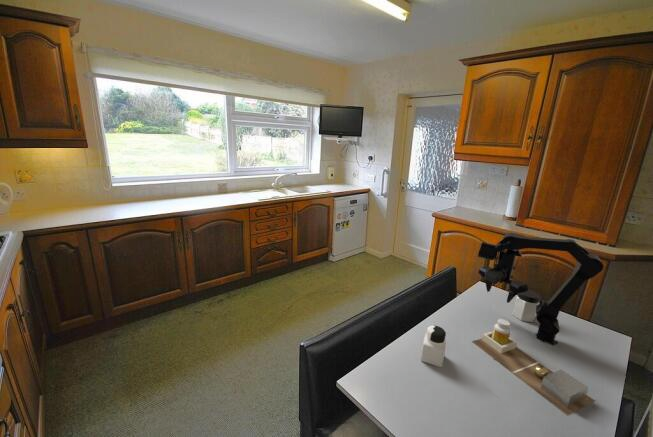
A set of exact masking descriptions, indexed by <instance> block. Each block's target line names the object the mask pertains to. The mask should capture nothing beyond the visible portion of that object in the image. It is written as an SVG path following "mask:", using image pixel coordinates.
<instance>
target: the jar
mask: <svg viewBox="0 0 653 437" xmlns="http://www.w3.org/2000/svg"><path fill="white" fill-rule="evenodd" d="M540 302H541V295H540V294H539V293H538V292H536V291H535V290H534V291H533V290H532V289H528V291H526V292H522V293H518V294H517V295H516V299H515V303H514V307H513V310H512V316H514V317H515V318H516V319H518V320H520V321H521V322H527V323H533V322H534V320H535V319H536V306H537V305H539V304H540Z"/></svg>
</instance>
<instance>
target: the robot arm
mask: <svg viewBox="0 0 653 437" xmlns="http://www.w3.org/2000/svg"><path fill="white" fill-rule="evenodd" d="M524 249H535V250H549V251H559V252H560V251H561V252H567V253H569V254H570V255H571V257H573V258H574V259H575V261H577V263H576V264H575V267H574V269H573V272H572V273H571V275H569V277H568V278H567V279H566V280H565V281H564V283H563V284H562V285H561V286H560V287H559V288H558V290H557V291H555V293H554V294H553V295H552V297H551V298H549V299H548V300H544V299H540V301H539V305H537V306H536V315H535V319H536V321H537V322H538V324H539V326H538V329H537V331H536V332H537V333H535V339H537V340H539V341H540V342H542V343H548V344H549V345H552V346H556V345H557V344H559V342H558V341H557V340H556V336H557V334H558V333H560V325H559V320H558V316H559V313H560V311H561V309H562V308H563V307H564V305H565V304H566V303H568V301H570V299H571V298H572V297H573V295H574V294H576V292H577V291H578V290H579V289H580V288H581V287H582V285H583V284H584V283H585V282H586V281H588V280H591V279H593V278H594V277H596V276H598V274H601V272H602V271H603V270H604V264H603V262H602V260H601V259H600V257H599V256H598V255H597V254H595V253H590V252H589V251H588V250H586V248H584V247H583V246H582V245H580V244H579V243H577V241H575V240H574V239H571V238H568V239H565V238H564V239H563V238H562V239H559V238H546V237H545V238H544V237H533V236H527V235H523V234H519V233H515V232H506V234H504V236H503V237H502V239H501V240H500V241H499V242H497V243H496V244H493V243H489V242H486V241H482V242H481V245H480V247H479V250H478V253H477V257H478V258H480V259H485V260H490V261H494V260H496V259H497V262H496V263H495V264H494V265H493V267H490V266H487V265H486V266H481V267H479V269H478V272H477V274H479V275H480V277H481V278H482V279H484V283H485V287H486V292H487V293H489V292H490V291H491V289H492V286H493V285H496V284H498V283H499V284H503V283H505V284H507V285H509V287H508V289H507V290H508V294H507V297H506V303H510V302H511V301H512V300H513V299H514V298H515V297H517V296H518V293H522V292H526V291H528V290H529V285H528V284H527V283H526V282H523V281H520V280H516V281H515V280H514V281H513V280H512V279H513V277H514V276H513V275H512V274H513V270H516V267H515V266H514V265H515V261H516V257H518V258H519V257H522V255H523V253H522V252H521V251H520V250H524ZM497 257H498V258H497Z"/></svg>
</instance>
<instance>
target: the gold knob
mask: <svg viewBox="0 0 653 437" xmlns="http://www.w3.org/2000/svg"><path fill="white" fill-rule="evenodd" d="M542 365H543V364H542ZM542 365H536V367H535V370H534V375H535V376H536V377H538V378H539V379H542V380H543V378H544V377H545V376H547V375H548V372H549V371H548V369H549V368H548V367H547V366H545V365H543V366H542ZM544 366H545V367H544ZM547 368H548V369H547Z"/></svg>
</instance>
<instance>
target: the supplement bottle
mask: <svg viewBox="0 0 653 437" xmlns="http://www.w3.org/2000/svg"><path fill="white" fill-rule="evenodd" d="M510 327H511V323H510V321H508V320H507V319H504V318H499V319H498V320H497V323H495V324H494V326H493V330H492V331H493V334H492V339H493V340H494V341H496V342H497V343H499V344H500V345H501V346H503V345H506V344H508V340H509V338H510V334H511V332H512V330H511V328H510Z"/></svg>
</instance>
